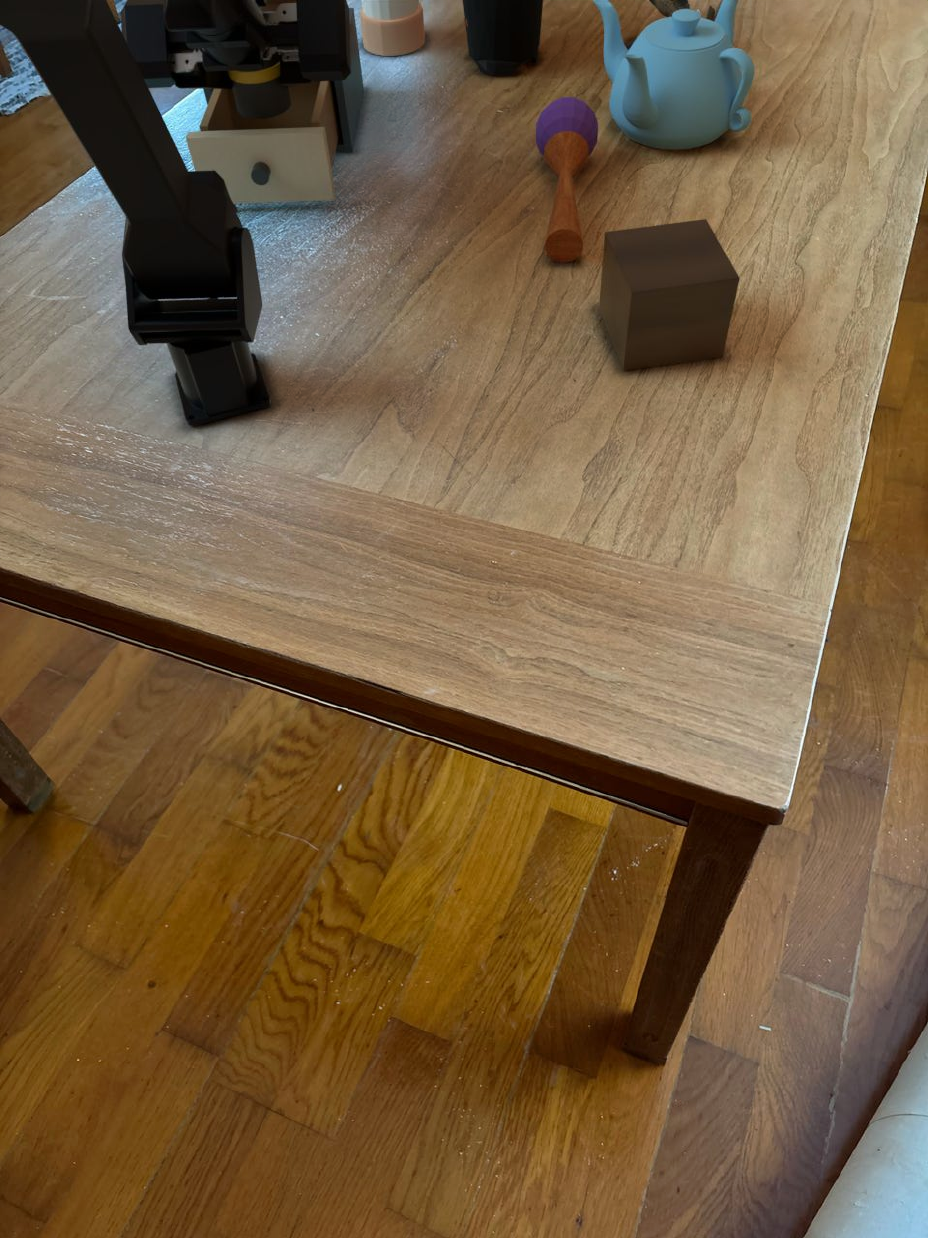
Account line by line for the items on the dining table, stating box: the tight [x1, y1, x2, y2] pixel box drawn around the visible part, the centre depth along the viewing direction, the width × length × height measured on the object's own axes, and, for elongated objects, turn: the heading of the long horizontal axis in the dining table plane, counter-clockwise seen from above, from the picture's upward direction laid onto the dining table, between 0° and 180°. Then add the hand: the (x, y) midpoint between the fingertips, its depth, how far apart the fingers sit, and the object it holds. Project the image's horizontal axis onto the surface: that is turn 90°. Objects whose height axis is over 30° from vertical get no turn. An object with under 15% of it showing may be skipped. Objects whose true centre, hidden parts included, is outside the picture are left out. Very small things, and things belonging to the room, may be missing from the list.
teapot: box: [592, 0, 755, 151], centre depth 91 cm, size 15×15×10 cm
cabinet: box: [202, 7, 365, 154], centre depth 96 cm, size 14×14×8 cm
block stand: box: [598, 218, 741, 372], centre depth 73 cm, size 8×8×7 cm
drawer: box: [185, 81, 340, 205], centre depth 89 cm, size 14×12×6 cm
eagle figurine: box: [626, 0, 723, 50], centre depth 103 cm, size 8×7×9 cm
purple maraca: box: [535, 96, 599, 264], centre depth 86 cm, size 6×6×20 cm
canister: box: [227, 47, 291, 119], centre depth 85 cm, size 5×5×5 cm
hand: (263, 81), depth 86 cm, fingers closed on canister, 5 cm apart
